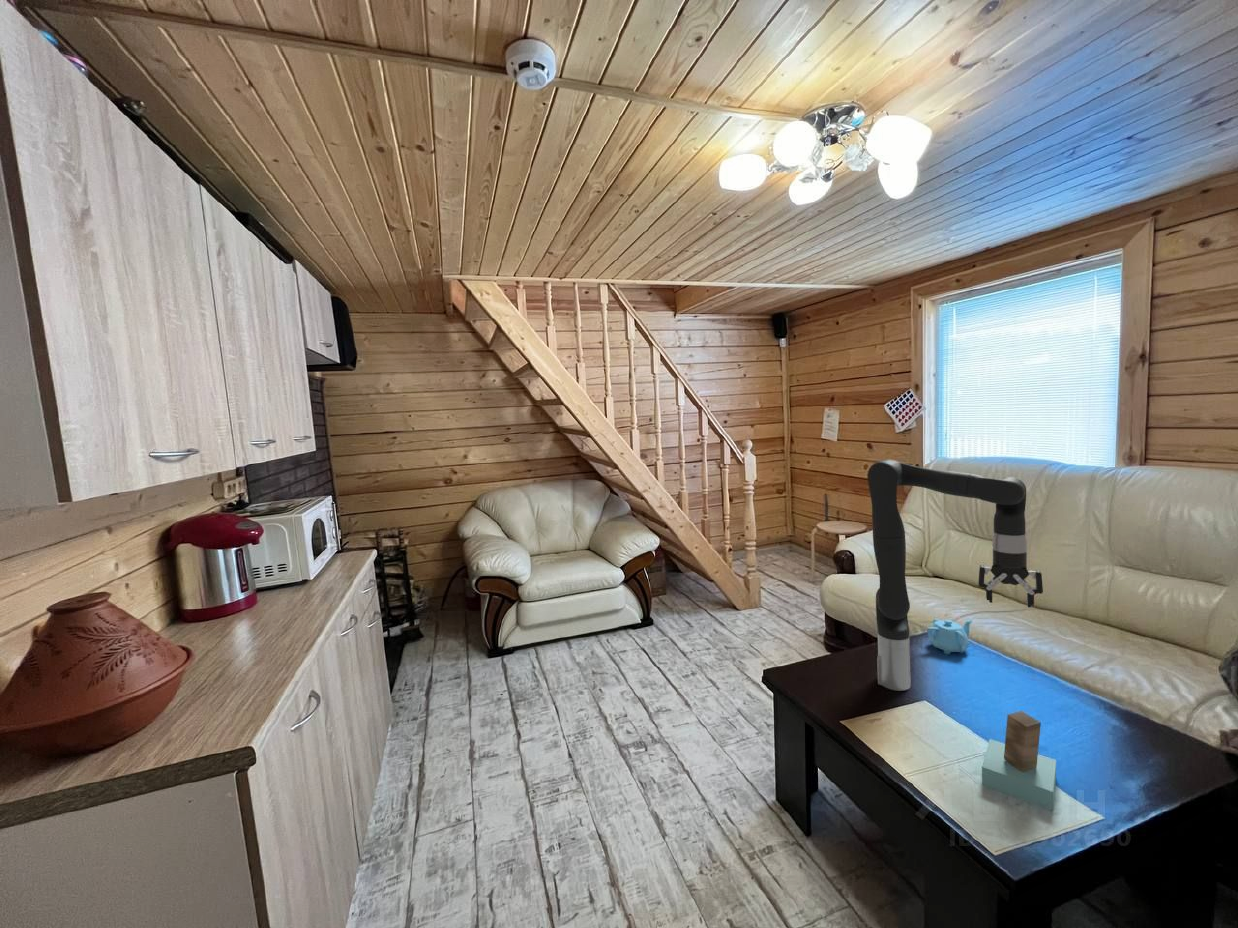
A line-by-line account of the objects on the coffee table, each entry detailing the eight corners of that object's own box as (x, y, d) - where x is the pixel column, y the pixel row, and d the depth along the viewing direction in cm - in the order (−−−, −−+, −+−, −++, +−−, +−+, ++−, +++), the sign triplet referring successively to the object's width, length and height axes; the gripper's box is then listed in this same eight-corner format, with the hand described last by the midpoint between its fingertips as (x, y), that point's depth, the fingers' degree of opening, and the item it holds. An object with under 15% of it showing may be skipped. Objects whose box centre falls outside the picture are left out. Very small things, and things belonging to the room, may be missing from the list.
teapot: (924, 651, 185) (923, 623, 184) (934, 635, 195) (934, 609, 194) (965, 661, 176) (964, 632, 175) (973, 644, 186) (973, 616, 185)
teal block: (982, 785, 120) (981, 766, 120) (989, 756, 129) (989, 738, 129) (1053, 812, 111) (1053, 791, 111) (1056, 779, 120) (1056, 759, 120)
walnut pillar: (1003, 758, 121) (1007, 714, 119) (1017, 754, 122) (1021, 710, 120) (1022, 771, 117) (1026, 726, 115) (1036, 767, 118) (1040, 722, 116)
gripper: (978, 549, 140) (979, 604, 142) (1044, 554, 132) (1044, 613, 133) (977, 543, 146) (978, 596, 148) (1040, 547, 138) (1040, 603, 140)
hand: (1009, 604), depth 141 cm, fingers open, 8 cm apart
